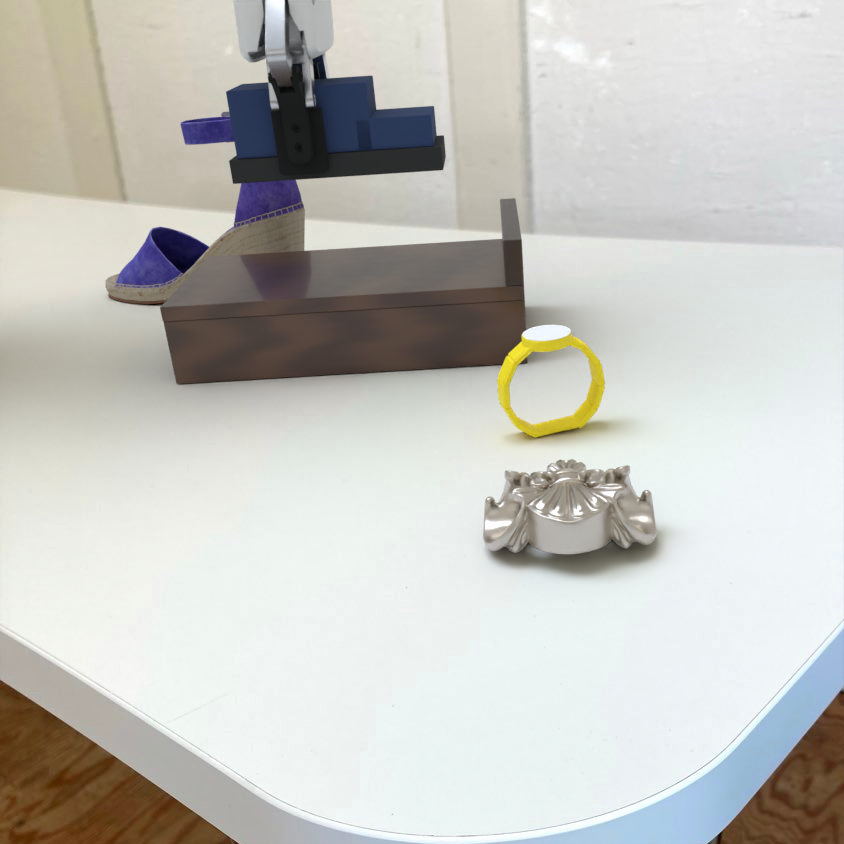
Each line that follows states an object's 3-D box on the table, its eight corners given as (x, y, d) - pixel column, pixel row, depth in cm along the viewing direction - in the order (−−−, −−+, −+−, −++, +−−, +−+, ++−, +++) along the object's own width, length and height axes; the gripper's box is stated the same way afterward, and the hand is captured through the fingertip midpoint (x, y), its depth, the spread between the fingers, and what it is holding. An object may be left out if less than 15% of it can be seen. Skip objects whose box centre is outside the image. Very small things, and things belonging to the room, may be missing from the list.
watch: (594, 414, 63) (592, 317, 61) (610, 431, 61) (609, 330, 58) (497, 429, 62) (490, 331, 59) (509, 447, 60) (503, 345, 57)
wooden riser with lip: (175, 384, 72) (149, 261, 68) (220, 324, 85) (201, 217, 81) (528, 363, 72) (521, 239, 68) (521, 305, 85) (515, 198, 81)
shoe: (232, 184, 70) (216, 92, 68) (249, 170, 75) (234, 84, 73) (443, 170, 70) (435, 77, 68) (445, 157, 75) (438, 70, 73)
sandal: (155, 276, 100) (120, 107, 93) (329, 291, 92) (305, 107, 85) (90, 299, 94) (47, 120, 87) (271, 318, 85) (239, 121, 79)
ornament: (648, 500, 53) (648, 433, 51) (662, 570, 47) (663, 496, 45) (487, 507, 53) (482, 440, 51) (481, 577, 47) (475, 504, 45)
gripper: (236, -128, 72) (278, 150, 80) (170, -155, 57) (231, 192, 65) (346, -135, 72) (377, 144, 80) (310, -164, 57) (353, 184, 65)
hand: (311, 163), depth 73 cm, fingers closed on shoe, 5 cm apart
